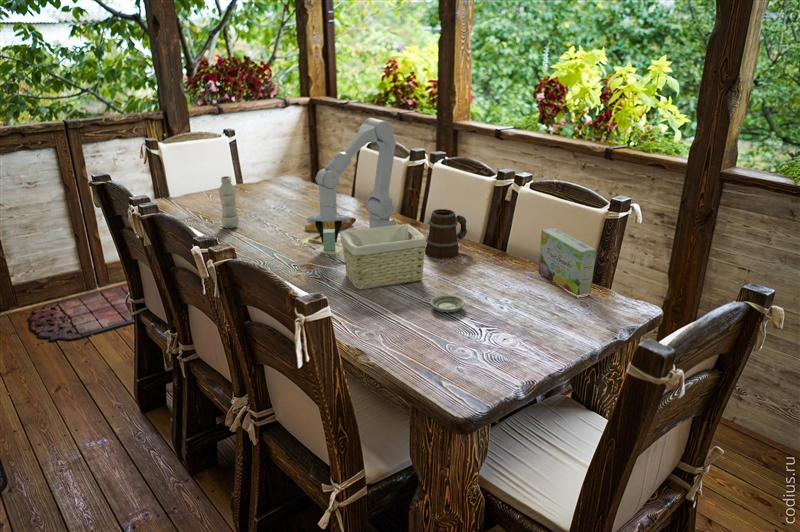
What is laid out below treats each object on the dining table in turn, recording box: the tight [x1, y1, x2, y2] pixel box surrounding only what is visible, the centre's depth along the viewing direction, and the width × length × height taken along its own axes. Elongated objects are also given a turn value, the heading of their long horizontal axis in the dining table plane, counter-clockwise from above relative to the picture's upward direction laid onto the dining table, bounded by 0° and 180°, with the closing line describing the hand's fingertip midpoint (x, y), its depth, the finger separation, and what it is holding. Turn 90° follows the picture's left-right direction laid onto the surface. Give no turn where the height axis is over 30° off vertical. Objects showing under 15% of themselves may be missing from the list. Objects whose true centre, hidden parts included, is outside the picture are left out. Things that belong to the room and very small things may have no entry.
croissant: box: [304, 212, 357, 232], centre depth 235 cm, size 21×10×8 cm, turn 118°
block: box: [323, 229, 337, 250], centre depth 212 cm, size 4×4×6 cm
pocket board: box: [298, 232, 342, 247], centre depth 221 cm, size 14×11×2 cm
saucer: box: [429, 294, 466, 313], centre depth 170 cm, size 10×10×2 cm
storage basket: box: [339, 223, 427, 290], centre depth 188 cm, size 24×16×15 cm
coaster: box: [314, 245, 343, 256], centre depth 213 cm, size 8×8×1 cm
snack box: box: [538, 227, 597, 295], centre depth 184 cm, size 21×6×15 cm, turn 21°
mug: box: [424, 208, 468, 260], centre depth 210 cm, size 16×12×15 cm
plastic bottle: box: [218, 176, 240, 229], centre depth 232 cm, size 6×7×20 cm
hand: (329, 241), depth 212 cm, fingers closed on block, 4 cm apart
